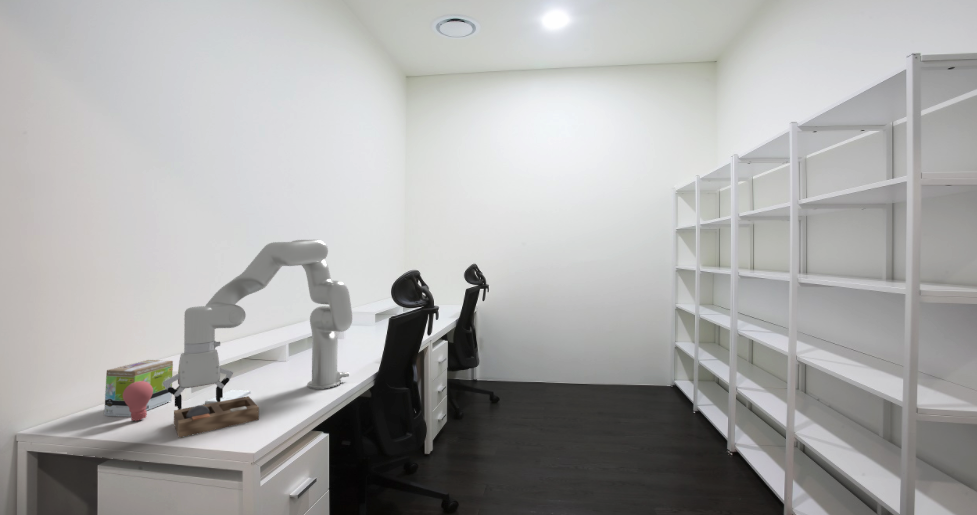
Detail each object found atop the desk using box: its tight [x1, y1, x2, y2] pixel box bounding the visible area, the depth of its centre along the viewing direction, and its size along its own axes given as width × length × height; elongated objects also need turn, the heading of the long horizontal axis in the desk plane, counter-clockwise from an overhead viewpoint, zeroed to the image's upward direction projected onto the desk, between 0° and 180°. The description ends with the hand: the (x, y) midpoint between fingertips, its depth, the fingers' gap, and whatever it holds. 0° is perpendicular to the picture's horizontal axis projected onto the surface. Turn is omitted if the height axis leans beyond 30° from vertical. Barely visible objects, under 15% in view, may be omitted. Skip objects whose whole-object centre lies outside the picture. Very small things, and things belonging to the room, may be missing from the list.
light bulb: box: [123, 381, 153, 421], centre depth 126 cm, size 7×7×12 cm
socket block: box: [173, 395, 260, 438], centre depth 126 cm, size 20×14×4 cm
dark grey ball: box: [186, 404, 210, 419], centre depth 123 cm, size 6×6×6 cm
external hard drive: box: [204, 389, 252, 405], centre depth 147 cm, size 2×8×12 cm
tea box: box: [103, 359, 174, 418], centre depth 136 cm, size 15×10×15 cm
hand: (199, 404), depth 123 cm, fingers open, 9 cm apart
